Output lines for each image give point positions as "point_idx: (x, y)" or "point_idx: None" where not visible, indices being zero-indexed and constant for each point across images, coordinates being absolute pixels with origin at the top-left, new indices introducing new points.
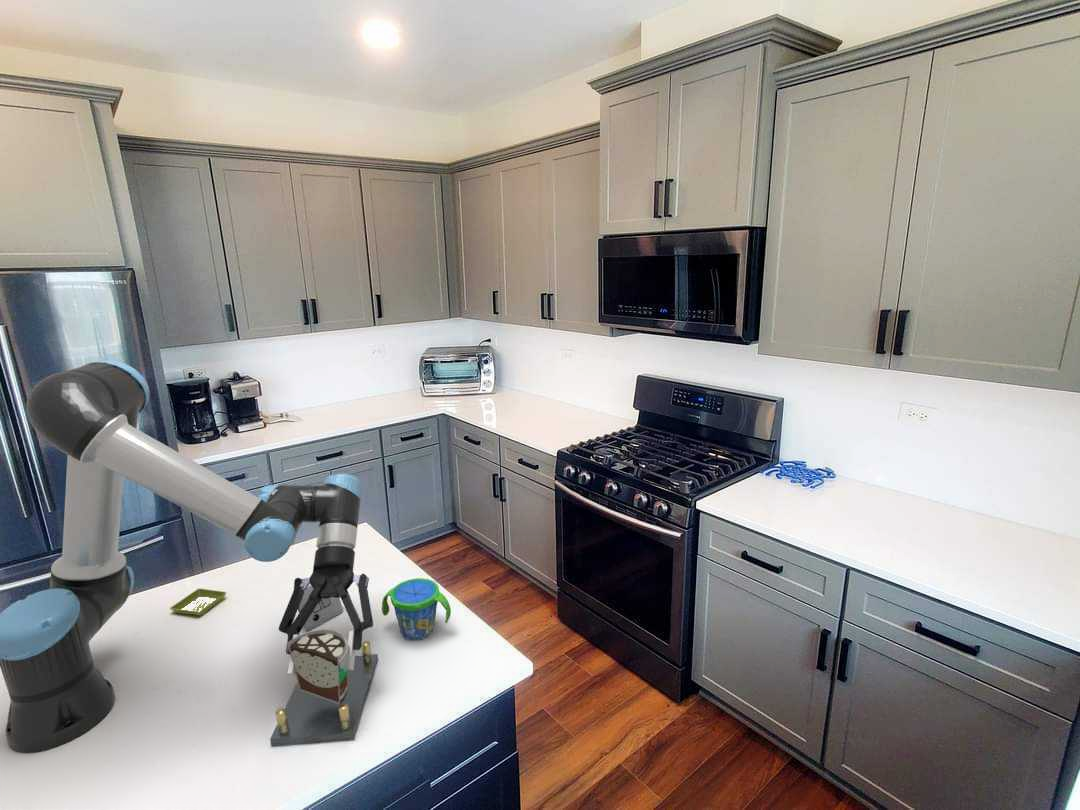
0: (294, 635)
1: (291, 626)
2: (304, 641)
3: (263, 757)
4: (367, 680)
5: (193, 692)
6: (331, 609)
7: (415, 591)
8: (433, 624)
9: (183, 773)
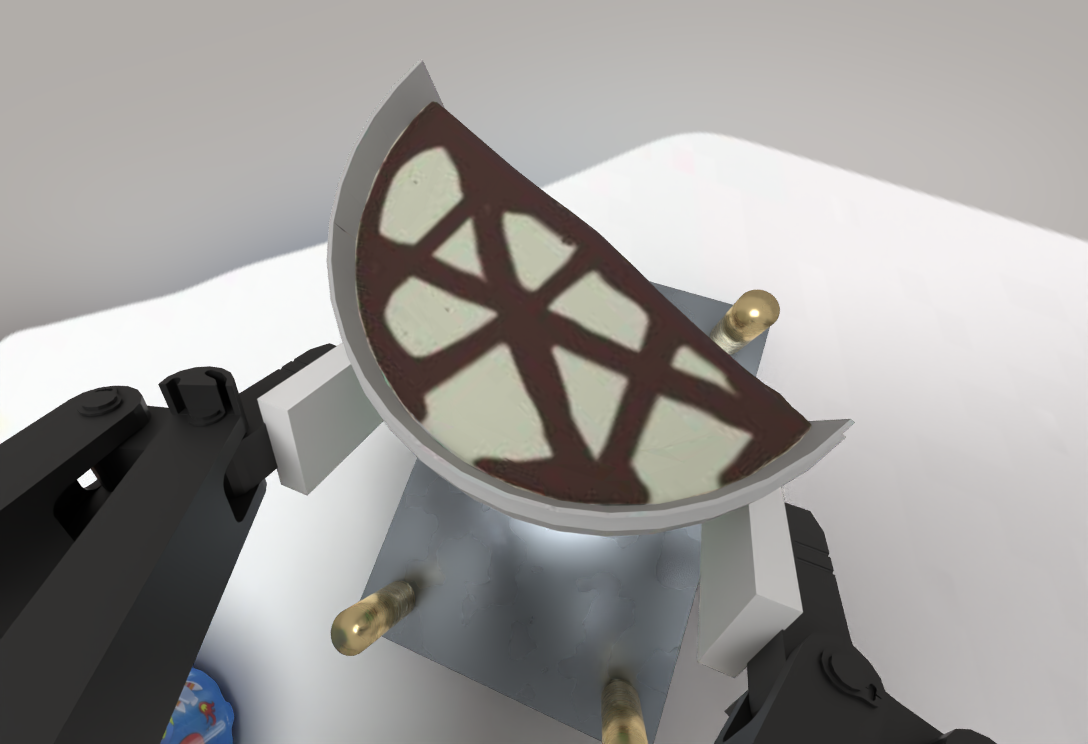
0: (788, 597)
1: (863, 738)
2: (677, 444)
3: (780, 290)
4: (420, 467)
5: None
6: None
7: None
8: None
9: (1046, 323)
